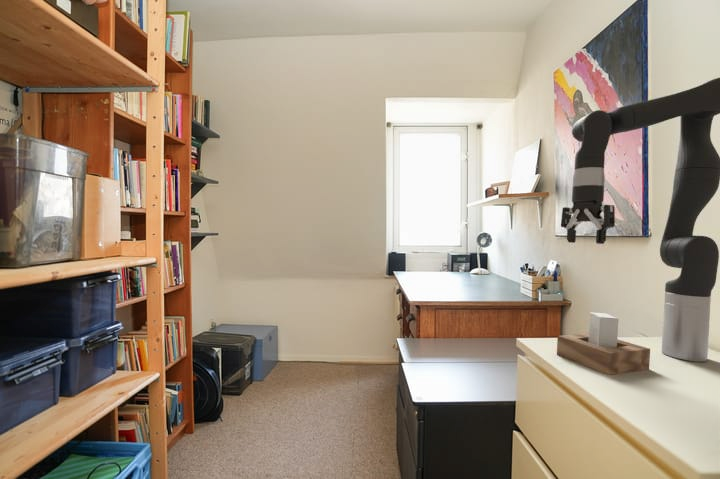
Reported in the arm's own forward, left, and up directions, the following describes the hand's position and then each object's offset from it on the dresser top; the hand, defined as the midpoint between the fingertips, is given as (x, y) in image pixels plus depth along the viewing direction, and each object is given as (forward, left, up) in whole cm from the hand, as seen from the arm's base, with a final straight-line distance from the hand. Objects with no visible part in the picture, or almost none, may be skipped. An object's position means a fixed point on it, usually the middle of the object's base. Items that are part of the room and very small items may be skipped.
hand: (585, 243), depth 99 cm
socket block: (+4, +9, -30) cm, 32 cm away
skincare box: (+4, +9, -30) cm, 32 cm away
